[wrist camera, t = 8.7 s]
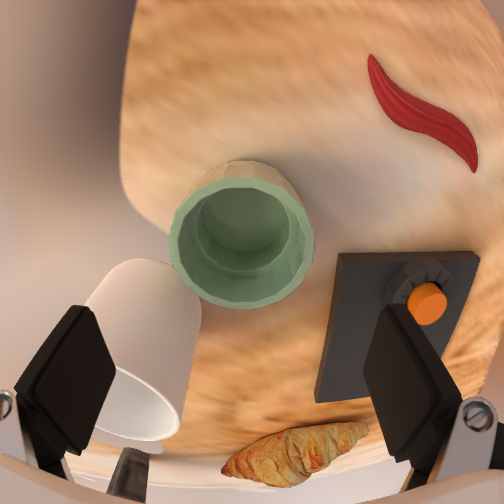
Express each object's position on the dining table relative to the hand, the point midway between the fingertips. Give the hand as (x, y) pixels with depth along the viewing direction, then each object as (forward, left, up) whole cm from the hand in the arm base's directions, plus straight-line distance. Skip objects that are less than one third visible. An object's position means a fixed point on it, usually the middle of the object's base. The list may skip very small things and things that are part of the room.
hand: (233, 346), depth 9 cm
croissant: (+31, +5, -12) cm, 33 cm away
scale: (+11, +13, -11) cm, 20 cm away
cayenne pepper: (-7, +13, -12) cm, 19 cm away
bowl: (0, 0, -11) cm, 11 cm away
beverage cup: (+39, -19, -12) cm, 44 cm away
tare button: (+5, +13, -9) cm, 17 cm away
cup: (+8, -9, -12) cm, 16 cm away
